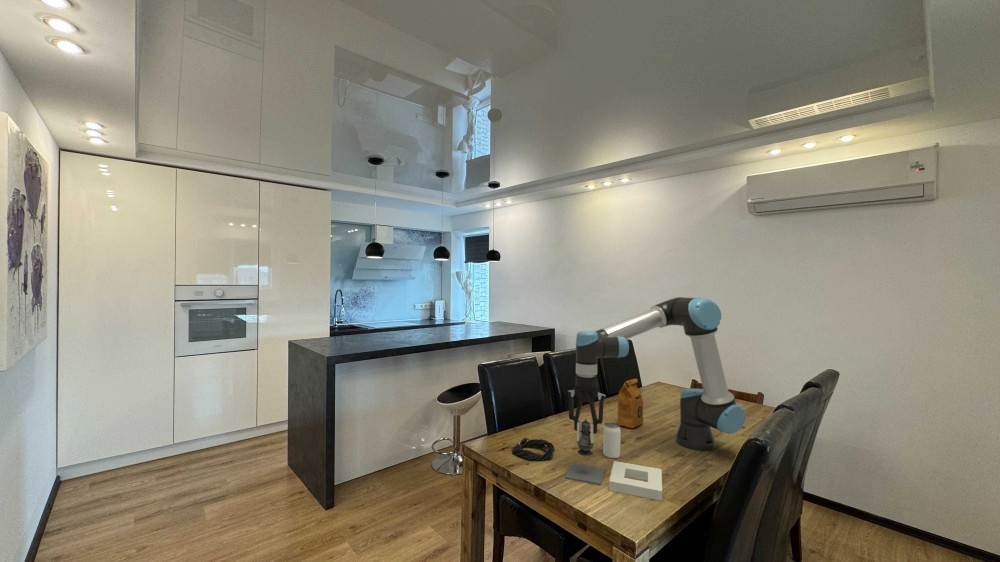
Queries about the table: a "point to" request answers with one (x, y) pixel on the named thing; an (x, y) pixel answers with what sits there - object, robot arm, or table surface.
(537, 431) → the table surface
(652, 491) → the white square tray
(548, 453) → the cable
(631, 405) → the coffee package
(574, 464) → the rubber mat
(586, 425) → the grey statuette
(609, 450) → the can
